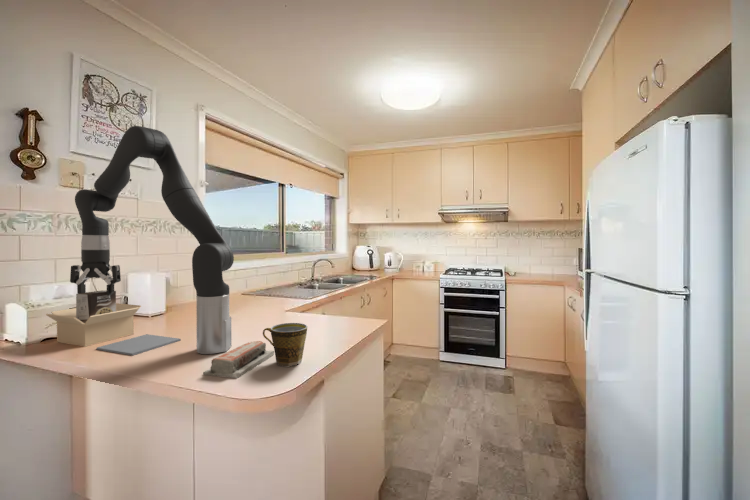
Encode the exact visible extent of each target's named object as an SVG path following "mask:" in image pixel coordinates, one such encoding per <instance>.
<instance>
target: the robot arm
mask: <svg viewBox="0 0 750 500" xmlns="http://www.w3.org/2000/svg"><path fill="white" fill-rule="evenodd" d="M137 158H143V159H144V158H145V159H152V160H154V161H155V162H156V164H157V165H158V168H159V169H160V171H161V173H162V184H161V191H160V192H161V197H162V200H163V201H164V203H165V205H166V207H167V209H168V210H169V212H170V214H171V215H172V216H173V217H174V218H175V220H176V221H178V222H179V223H180V225H181V226H183V227H184V228H185V229H186V230H187V231H188V232H190V233H191V235H192V236H193V237H194V238H195V239H196V240H197V242H198V244H199V245H197V247H196V248H195V249H194V250H193V254H192V258H191V263H192V264H191V267H192V270H191V271H192V283H193V287H194V289H195V291H196V295H195V296H196V298H195V299H196V303H195V305H196V307H195V308H196V310H195V311H196V353H198V354H202V355H213V354H218V353H226V352H228V350H229V349H230V348H231V347H232V317H231V316H230V286H229V284H227V283H226V282H225V281H224V279H223V278H224V277H223V272H226V271H228V270H230V269H231V267H233V265H234V258H235V257H234V252H233V250H232V249H231V247H230V245H229V244H228V242H227V241H226V240H225V238H224V237H223V236H222V234H221V233H220V232H219V230H218V229H217V227H216V225H215V224H214V223H213V220H212V219H211V216H210V215H209V214H208V212H207V210H206V208H205V207H204V205H203V203H202V201H201V199H200V197H199V195H198V194H197V192H196V190H195V189H194V187H193V185H192V184H191V182H190V180H189V178H188V176H187V175H186V173H185V171H184V169H183V167H182V165H181V164H180V161H179V158H178V157H177V154H176V152H175V150H174V147H173V145H172V143H171V141H170V139H169V138H168V135H166V134H165V133H164V132H163V131H161V130H159V129H154V128H149V127H145V126H140V125H134V126H133V125H132V126H130V127H129V128H128V129H127V130H126V131H125V132H124V133H123V135H122V137H121V139H120V141H119V143H118V145H117V148H116V149H115V151H114V153H113V156H112V158H111V160H110V161H109V164H108V165H107V167H106V168H105V170H103V172H102V173H101V174H100V175H99V176H98V177H97V179H96V180H95V182H94V184H93V187H94V189H95V190H93V189H86V188H84V189H80V190H78V191H77V192H76V194H75V196H74V204H75V207H76V208H77V211H78V215H79V217H80V220H81V234H82V235H81V241H80V243H81V244H80V247H81V248H80V253H81V256H80V257H81V258H80V261H81V265H80V264H73V265H71V266H70V276H69V277H70V278H69V279H70V280H69V282H70V283H71V284H75V285H76V287H77V288H76V289H77V292H76V294H79V293H86V282H87V281H88V280H89V279H93V278H94V279H101V280H102V281H103V280H104V282H105V283H106V291H107V295H112V294H113V293H114V291H115V284H116V283H119V282H122V281H121V279H122V277H121V265H119V264H116V265H110V259H111V256H110V252H111V248H110V247H111V245H110V244H111V242H110V237H109V235H110V234H109V233H110V231H109V229H110V228H109V227H110V226H109V224H110V223H109V221H108V220H107V219H105V218H103V217H98V216H96V214H95V213H94V212H102V213H103V212H104V213H106V212H111V210H113V209H114V208H115V207H116V203H117V200H118V197H119V194H120V193H121V192H122V191H123V190H124V189H125V187H126V186H127V185H128V183H129V182H130V179H131V170H130V169H131V168H130V166H131V164H132V163H133V162H134V161H135V160H136V159H137ZM81 271H82V273H81ZM110 271H111V274H110V273H109V272H110ZM80 273H81V275H80Z"/></svg>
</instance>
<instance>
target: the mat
mask: <svg viewBox="0 0 750 500" xmlns="http://www.w3.org/2000/svg"><path fill="white" fill-rule="evenodd" d="M180 341H181V338H178V337H172V336H171V337H170V336H164V335H157V334H156V335H155V334H148V333H147V334H146V333H145V334H142V335H138V336H135V337H130V338H127V339H124V340H123V339H122V340H120V341H117V342H113V343H110V344H105V345H101V346H98V347H97V346H96V350H98V351H103V352H109V353H115V354H121V355H127V356H135V355H139V354H142V353H145V352H149V351H152V350H155V349H157V348H162V347H165V346H167V345H171V344H173V343H174V344H175V343H177V342H180Z"/></svg>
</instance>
